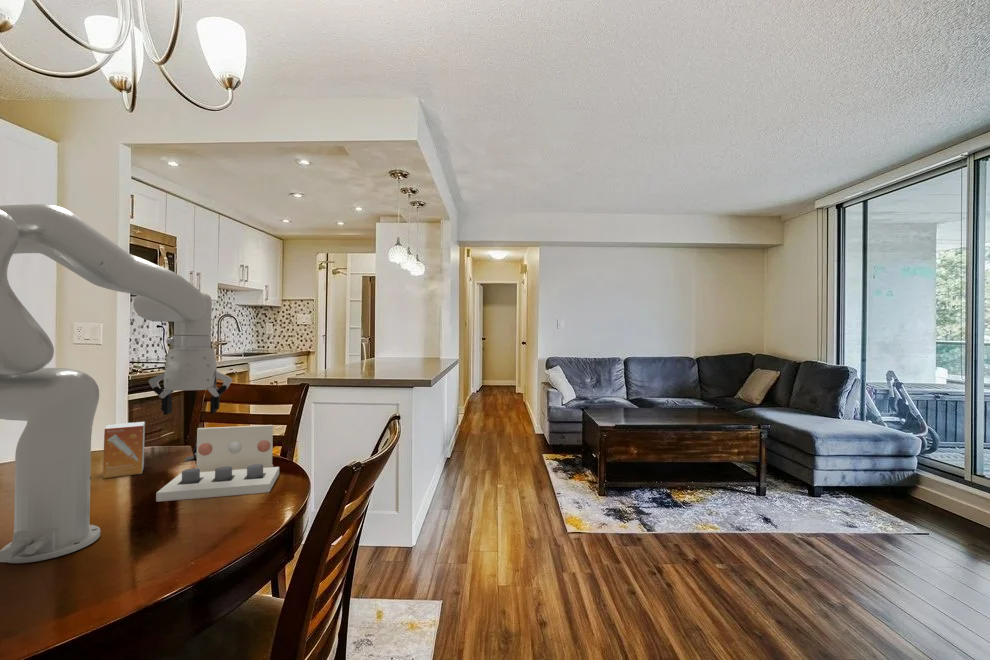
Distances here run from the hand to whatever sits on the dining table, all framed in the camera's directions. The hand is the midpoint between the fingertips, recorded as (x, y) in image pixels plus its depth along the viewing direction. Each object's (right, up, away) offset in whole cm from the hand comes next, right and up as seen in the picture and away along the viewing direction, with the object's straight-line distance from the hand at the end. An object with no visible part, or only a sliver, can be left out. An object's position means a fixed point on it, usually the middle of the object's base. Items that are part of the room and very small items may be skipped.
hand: (190, 413), depth 108 cm
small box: (-25, -18, +11) cm, 33 cm away
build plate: (-14, -19, +26) cm, 35 cm away
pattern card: (+4, -19, +12) cm, 22 cm away
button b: (+7, -17, +2) cm, 18 cm away
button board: (+7, -19, +2) cm, 20 cm away
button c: (+14, -17, +4) cm, 22 cm away
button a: (0, -17, 0) cm, 17 cm away
